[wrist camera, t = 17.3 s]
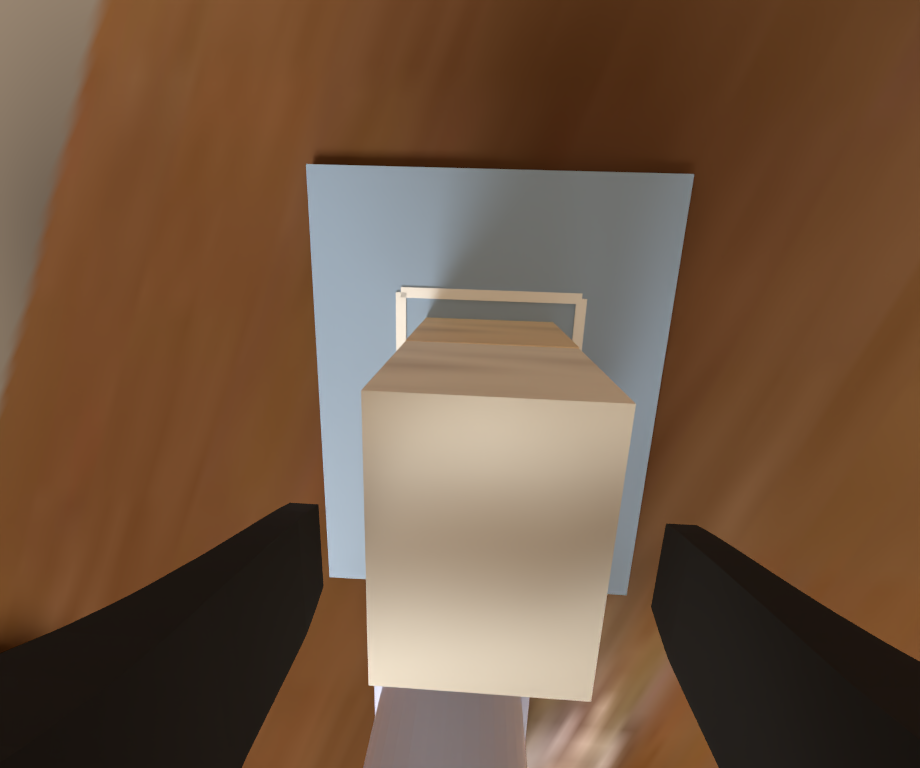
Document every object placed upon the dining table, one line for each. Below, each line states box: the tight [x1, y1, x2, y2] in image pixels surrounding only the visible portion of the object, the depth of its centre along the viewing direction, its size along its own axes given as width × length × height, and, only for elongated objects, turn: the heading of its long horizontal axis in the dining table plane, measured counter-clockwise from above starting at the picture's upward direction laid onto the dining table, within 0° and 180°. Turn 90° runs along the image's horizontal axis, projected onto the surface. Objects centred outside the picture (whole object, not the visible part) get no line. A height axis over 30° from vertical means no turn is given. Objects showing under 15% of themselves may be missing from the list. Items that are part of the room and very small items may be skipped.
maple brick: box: [406, 317, 579, 349], centre depth 16 cm, size 7×5×5 cm
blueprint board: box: [306, 164, 694, 595], centre depth 19 cm, size 18×14×1 cm
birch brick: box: [361, 341, 636, 702], centre depth 12 cm, size 7×5×5 cm
